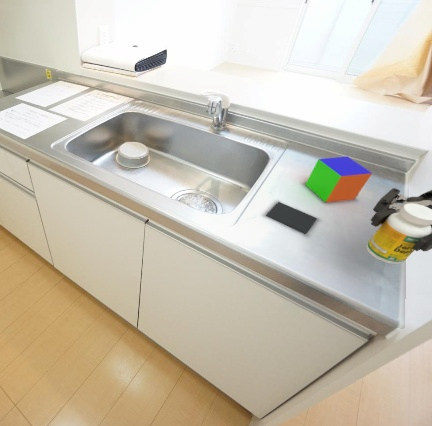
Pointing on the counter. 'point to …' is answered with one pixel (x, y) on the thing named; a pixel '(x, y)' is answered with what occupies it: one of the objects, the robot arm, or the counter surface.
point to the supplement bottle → (400, 233)
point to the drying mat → (291, 217)
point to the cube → (337, 179)
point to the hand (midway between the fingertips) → (396, 232)
